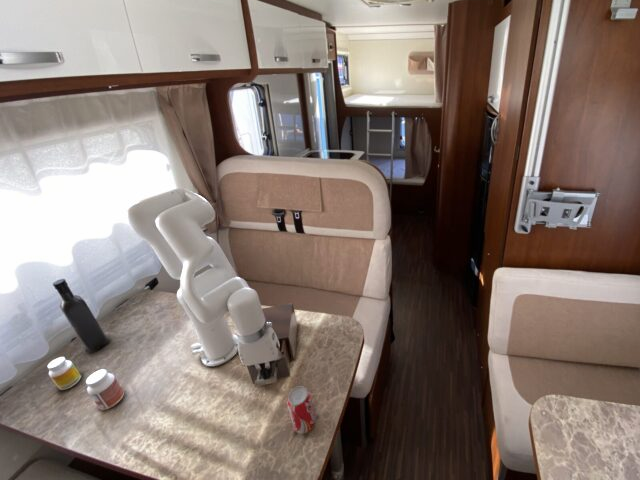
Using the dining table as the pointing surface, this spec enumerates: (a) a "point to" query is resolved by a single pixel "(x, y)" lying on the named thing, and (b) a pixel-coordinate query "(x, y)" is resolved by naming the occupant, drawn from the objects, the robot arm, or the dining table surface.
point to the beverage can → (301, 409)
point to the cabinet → (283, 324)
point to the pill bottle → (104, 389)
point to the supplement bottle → (63, 373)
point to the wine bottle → (80, 317)
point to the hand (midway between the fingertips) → (267, 374)
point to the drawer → (274, 367)
